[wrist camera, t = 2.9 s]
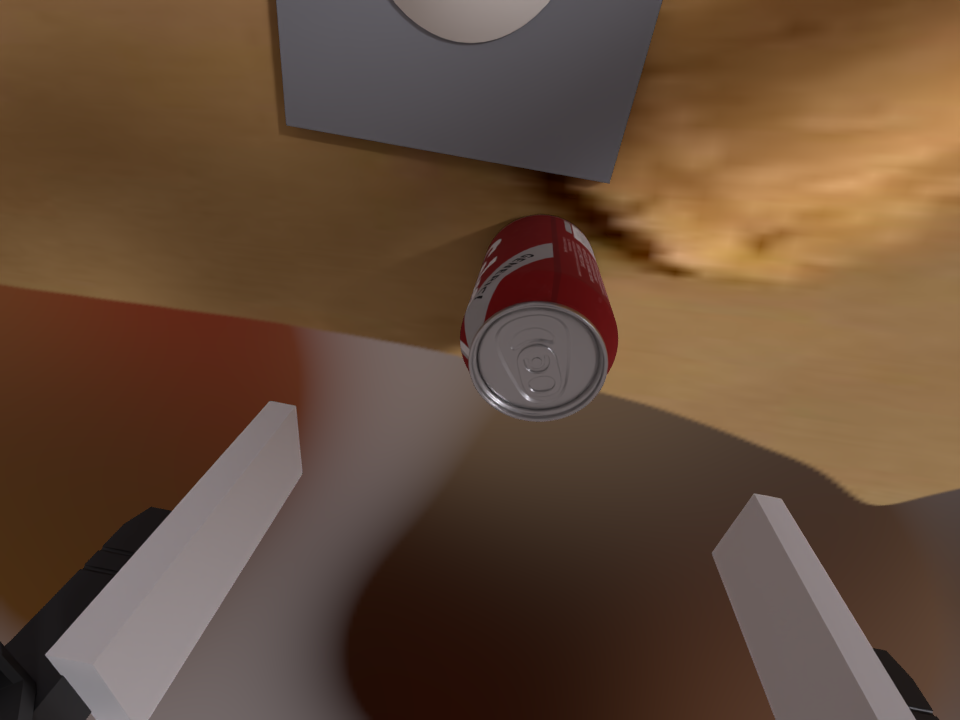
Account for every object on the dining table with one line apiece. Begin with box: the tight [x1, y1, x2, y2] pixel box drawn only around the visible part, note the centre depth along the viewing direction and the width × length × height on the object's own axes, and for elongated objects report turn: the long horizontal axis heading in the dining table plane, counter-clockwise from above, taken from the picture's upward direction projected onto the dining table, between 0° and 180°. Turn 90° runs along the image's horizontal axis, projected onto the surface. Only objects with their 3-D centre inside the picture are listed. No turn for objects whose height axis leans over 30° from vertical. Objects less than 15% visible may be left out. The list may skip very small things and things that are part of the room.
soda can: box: [460, 214, 618, 422], centre depth 22 cm, size 7×7×12 cm
